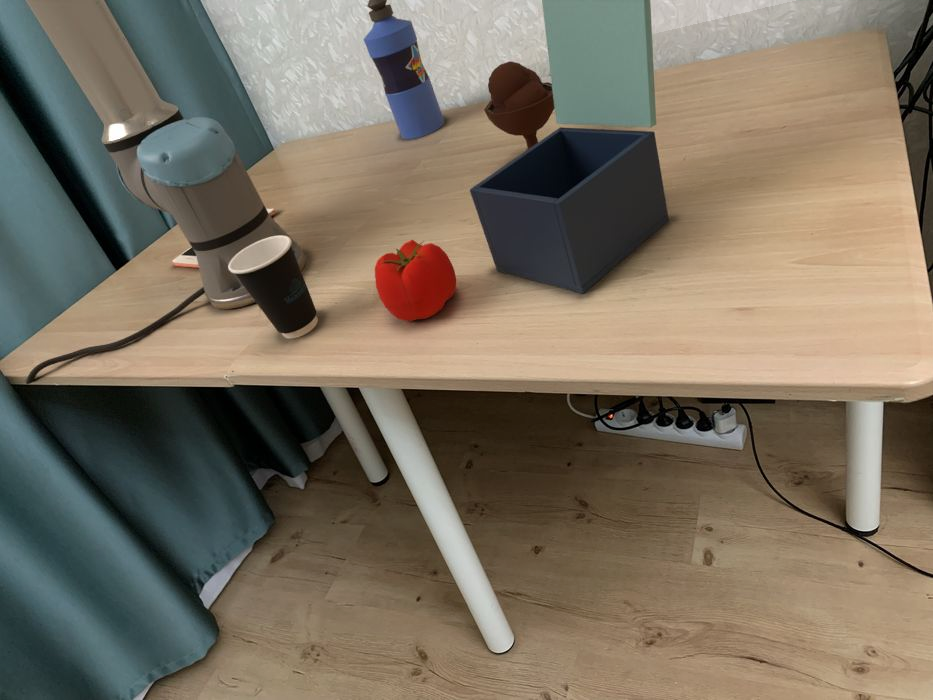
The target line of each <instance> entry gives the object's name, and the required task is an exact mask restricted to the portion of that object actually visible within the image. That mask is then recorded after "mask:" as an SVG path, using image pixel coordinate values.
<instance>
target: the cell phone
mask: <svg viewBox="0 0 933 700" xmlns="http://www.w3.org/2000/svg"><path fill="white" fill-rule="evenodd" d="M266 210H267V211H268V213H269V215H270V217H271V218H272V216H274V215H275V214H276V213H277V212H276V210H275V209H274V208H266ZM171 261H172V264H173V265H174V266H176V267H185V268H195V269H196V268H197V269H199V265H198V261H197V256H196V253H195V251H194V250H193V248H192V246H190V247H189V248H188V249H186V250H185V251H183V252H182V253H180V254H179V255H178V256H176V257H174V258H173V259H172V260H171Z"/></svg>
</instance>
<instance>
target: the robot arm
mask: <svg viewBox="0 0 933 700" xmlns="http://www.w3.org/2000/svg"><path fill="white" fill-rule="evenodd" d="M25 3H26V4H27V5H28V7H29V9H30V10H31V12H32V13H33V15H34V16H35V18H36V19H37V21H38V22H39V24H40V26H41V27H42V29H43V30H44V32H45V34H46V35H47V37H48V38H49V40H50V42H51V43H52V45H53V46H54V48H55V49H56V51H57V52H58V54H59V56H60V58H61V59H62V60H63V62H64V63H65V65H66V67H67V68H68V70H69V71H70V73H71V75H72V76H73V78H74V79H75V81H76V83H77V84H78V85H79V87H80V89H81V91H82V92H83V94H84V95H85V97H86V99H87V100H88V102H89V103H90V104H91V106H92V108H93V109H94V111H95V113H96V114H97V116H98V117H99V119H100V121H101V122H102V123H103V133H102V136H101V139H100V140H101V142H102V144H103V146H104V147H105V149H106V151H107V152H108V153H109V155H110V157H111V158H112V159H113V161H114V163H115V167H116V172H117V176H118V178H119V180H120V182H121V184H122V186H123V187H124V189H125V190H126V191H127V192H128V194H130V195H131V196H132V197H133V198H134V199H135V200H136V201H138V202H140V203H141V204H143V205H145V206H146V207H149V208H151V209H156V210H158V211H162V212H165V213H168V214H170V215H171V216H172V217H173V219H174V220H175V222H176V224H177V225H178V227H179V229H180V231H181V232H182V234H183V235H184V237H185V238H186V240H187V242H188V243H189V245H190V247H192V248H193V250H194V251H195V253H196V256H197V261H198V265H199V268H198V270H199V272H200V277H201V282H202V283H201V284H202V287H201V288H199V289H198V290H197V291H195V292H194V293H192V294H191V295H190V296H189V297H187V298H186V299H185V300H183V301H182V302H181V303H180V304H179V305H178V306H176V307H174V308H173V309H171V311H169V312H168V313H166V314H165V315H163V316H161V317H160V318H159V319H157V320H155V321H153V322H152V323H150V324H149V325H147V326H146V327H144V328H142V329H140V330H138V331H137V332H135V333H132V334H131V335H128V336H126V337H124V338H122V339H119V340H116V341H114V342H110V343H106V344H99V345H93V346H88V347H84V348H80V349H78V350H75V351H71V352H69V353H66V354H62V355H59V356H56V357H52V358H49V359H47V360H44V361H42V362H40V363H39V364H36V365H35V366H34V367H33V368H32V370H31V371H30V372H29V374H28V376H27V378H26V381H25V384H26V385H29V384H31V383H33V382H34V381H35V378H36V376H37V375H38V374H39V372H41V371H43V370H44V369H45V368H47V367H49V366H53V365H55V364H58V363H62V362H65V361H69V360H73V359H75V358H78V357H81V356H83V355H88V354H91V353H98V352H105V351H110V350H113V349H117V348H119V347H123V346H124V345H128V344H129V343H131V342H134V341H135V340H138V339H140V338H141V337H143V336H145V335H147V334H149V333H150V332H153V330H155V329H157V328H159V327H160V326H161V325H164V324H165V323H166V322H168V321H170V320H171V319H173V318H174V317H175V316H177V315H179V313H181V312H183V311H184V310H185V309H186V308H187V307H188V306H189V305H191V304H193V302H194V301H196V300H197V299H198V298H200V297H202V296H203V295H204V294H205V296H206V297H207V299H208V301H209V302H210V304H211V305H212V306H213V307H215V308H218V309H221V310H223V309H224V310H228V309H229V310H230V309H237V308H242V307H245V306H249V305H252V304H254V303H256V302H255V300H254V299H253V298H252V296H251V295H250V294H249V292H248V291H247V290H246V288H245V287H244V286H243V284H242V283H241V282H240V280H239V279H238V278H237V276H236V275H235V274H234V273H232V272H230V271H229V268H228V265H229V263H230V261H231V260H232V258H233V257H234V256H235V255H236V254H237V253H239V252H240V251H241V250H243V249H244V248H246V247H248V246H249V245H251V244H253V243H255V242H257V241H260V240H262V239H265V238H268V237H272V236H279V235H283V236H287V237H289V238H290V239H291V242H292V243H291V247H292V249H293V252H294V254H295V257H296V260H297V262H298V265H299V267H300V270H301V271H302V270H303V269H304V267H305V266H306V263H307V261H306V260H307V258H306V256H305V253H304V251H303V249H302V248H301V246H300V245H299V244H298V242H297V241H296V240H295V239H294V238H292V236H291V235H290V234H289V233H287V231H286V230H285V229H283V227H281V225H279V224H278V223H277V221H275V219H273V218H272V216H271V217H270V215H269V213H268V211H267V210H266V209H267V208H266V206H265V203H264V202H263V200H262V198H261V196H260V194H259V192H258V191H257V188H256V187H255V185H254V183H253V181H252V179H251V176H250V175H249V173H248V171H247V169H246V167H245V165H244V164H243V161H242V160H241V157H240V155H239V154H238V152H237V150H236V147H235V144H234V142H233V140H232V138H231V137H230V136H229V135H228V133H227V132H226V130H225V129H224V127H223V126H222V125H221V124H220V123H219V122H218V121H217V120H215V119H213V118H210V117H206V116H197V117H196V116H195V117H191V118H190V119H187V118H184V116H183V114H182V113H181V111H180V109H179V108H178V106H177V105H176V104H173V103H169V102H167V101H164V100H163V99H161V97H160V95H159V94H158V92H157V90H156V89H155V87H154V85H153V83H152V81H151V80H150V78H149V76H148V75H147V73H146V71H145V69H144V67H143V65H142V64H141V62H140V61H139V59H138V57H137V55H136V54H135V52H134V50H133V48H132V47H131V45H130V43H129V41H128V40H127V38H126V36H125V35H124V33H123V31H122V29H121V27H120V26H119V24H118V22H117V20H116V18H115V17H114V15H113V13H112V12H111V9H110V8H109V7H108V5H107V3H106V1H105V0H25Z"/></svg>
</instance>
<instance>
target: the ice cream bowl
mask: <svg viewBox="0 0 933 700" xmlns="http://www.w3.org/2000/svg"><path fill="white" fill-rule="evenodd" d="M487 89H488V93H489V94H490V101H489V102H488V104H487V105H486V106H485V108H484V109H483V111H484V113H485V115H486V116H487V118H488V120H489V121H490V122H491V124H492V125H493V126H495V127H496V128H498V129H499V130H500V131H502V132H504V133H506V134H508V135H510V136H511V135H512V136H517V137H519V136H522V138H524V140H525V143H526V147H527V149H525V151H527V150H528V149H529V148H531V147H532V146H534V145H535V144H537V143H538V142H539V140H538V136H537V133H538V131H540V130H541V129H542V128H543V127H544V126H545V125H546V124H547V123H548V121H549V120H550V118H551V116H552V115H553V112H554V111H555V108H554V99H553V90H552V82H549V81H547V82H542V79H541V78H540V76H539V75H538V74H537V72H536V71H534V70H532V69H530V68H527V67H526V66H524V65H522V64H521V63H519V62H514V61H507V62H503V63H501V64H499V65H498V66H497V67H495V68H494V69H493V70H492V71H491V73H490V76H489V77H488V84H487Z"/></svg>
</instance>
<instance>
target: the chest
mask: <svg viewBox="0 0 933 700" xmlns="http://www.w3.org/2000/svg"><path fill="white" fill-rule="evenodd" d="M527 149H528V148H527ZM527 149H526V150H527ZM526 150H524V152H522V153H520V154H519V155H518V156H516V157H515V158H513V159H512V160H511V161H509V162H507V163H506V164H505V165H503V166H502V167H500V168H499V169H498V170H496V171H495V172H493V173H491V174H490V175H488V176H487V177H486V178H484V179H483V180H481V181H480V182H479V183H477V184H475V185H474V186H473V187H471V188H470V189H469V192H470V196H471V199H472V201H473V203H474V207H475V210H476V214H477V216H478V219H479V222H480V225H481V228H482V231H483V234H484V237H485V240H486V242H487V246H488V248H489V249H488V250H489V252H490V255H491V258H492V261H493V264H494V266H495V268H496V269H495V270H496V271H498V272H500V273H504V274H508V275H511V276H515V277H519V278H522V279H526V280H529V281H535V282H538V283H541V284H546V285H549V286H553V287H556V288H560V289H563V290H567V291H571V292H574V293H579V294H582V295H583V294H585V293H586V292H587V291H588V290H589V289H591V288H592V287H593V286H594V285H595V284H597V283H598V282H599V281H600V280H601V279H602V278H604V277H605V276H606V275H607V274H608V273H610V271H612V270H613V269H614V268H615V267H616V266H618V265H619V264H620V263H621V262H622V261H624V259H626V258H627V257H628V256H629V255H630V254H631V253H633V252H634V251H635V250H636V249H637V248H638V247H640V246H641V245H642V244H643V243H645V242H646V241H647V240H648V239H649V238H651V236H653V235H654V234H655V233H656V232H657V231H658V230H659V229H661V228H662V227H663V226H664V225H665V224H667V222H669V221H670V218H669V212H668V211H669V210H668V206H667V200H666V193H665V188H664V187H665V186H664V181H663V177H662V170H661V169H662V168H661V163H660V157H659V152H658V151H659V150H658V146H657V141H656V133H655V131H648V130H629V129H628V130H627V129H608V128H607V129H606V128H583V127H581V128H580V127H561V126H559V128H556V129H555V130H554V131H553V132H551V133H549V134H548V135H547V136H545V137H544V138H543V139H541V140H540V141H538V143H537V144H535V145H534V146H532V147H531V148H529V149H528V150H527V151H526Z"/></svg>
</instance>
